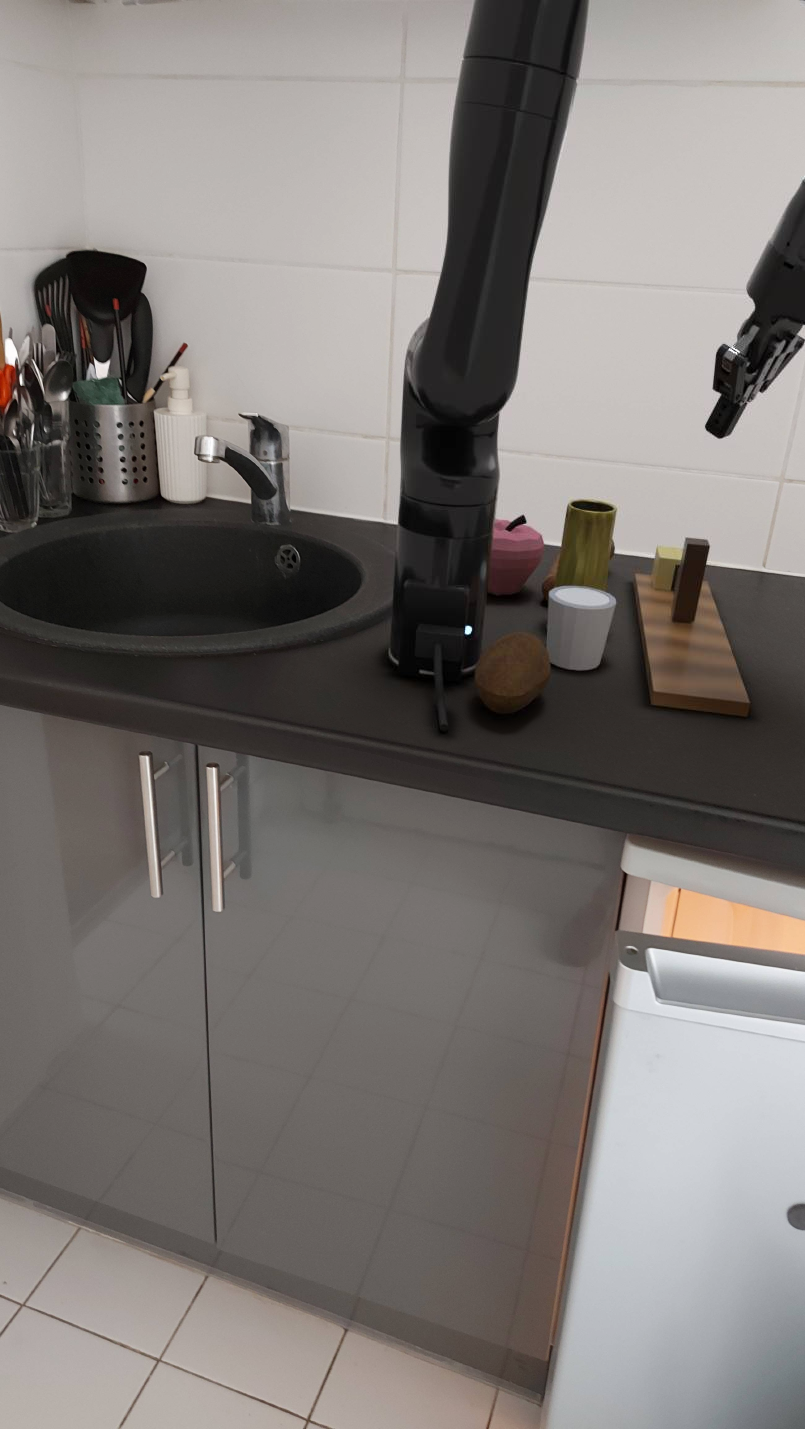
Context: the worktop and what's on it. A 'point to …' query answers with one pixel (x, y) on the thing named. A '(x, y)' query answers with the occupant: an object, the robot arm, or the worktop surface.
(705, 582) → the cutting board
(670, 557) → the yellow slotted block
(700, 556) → the dark brown upright post
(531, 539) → the apple
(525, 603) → the worktop surface
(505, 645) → the potato
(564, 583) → the vase
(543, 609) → the worktop surface
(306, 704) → the worktop surface
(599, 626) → the white cup
